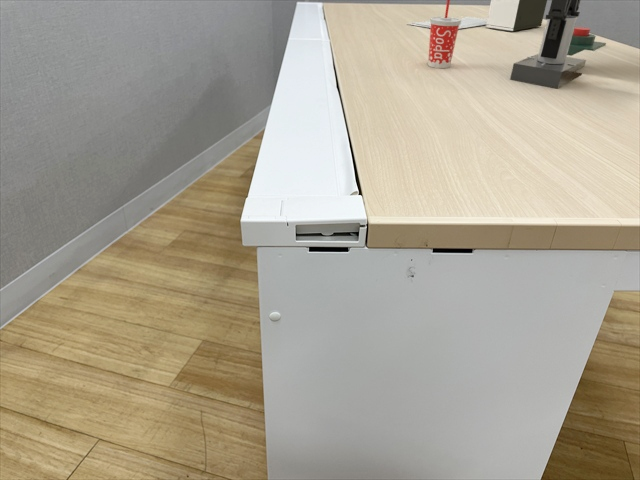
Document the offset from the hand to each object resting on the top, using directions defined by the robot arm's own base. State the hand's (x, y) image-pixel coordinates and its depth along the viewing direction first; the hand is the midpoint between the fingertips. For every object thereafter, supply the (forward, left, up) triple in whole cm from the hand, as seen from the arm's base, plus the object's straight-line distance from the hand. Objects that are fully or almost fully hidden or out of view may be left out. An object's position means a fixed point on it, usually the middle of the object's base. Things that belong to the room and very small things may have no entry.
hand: (552, 54), depth 94 cm
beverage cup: (+20, +7, -4) cm, 22 cm away
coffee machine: (+39, -48, -4) cm, 62 cm away
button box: (+4, -30, -4) cm, 31 cm away
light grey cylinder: (0, 0, -1) cm, 1 cm away
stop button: (+4, -30, -1) cm, 30 cm away
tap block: (0, 0, -4) cm, 4 cm away
